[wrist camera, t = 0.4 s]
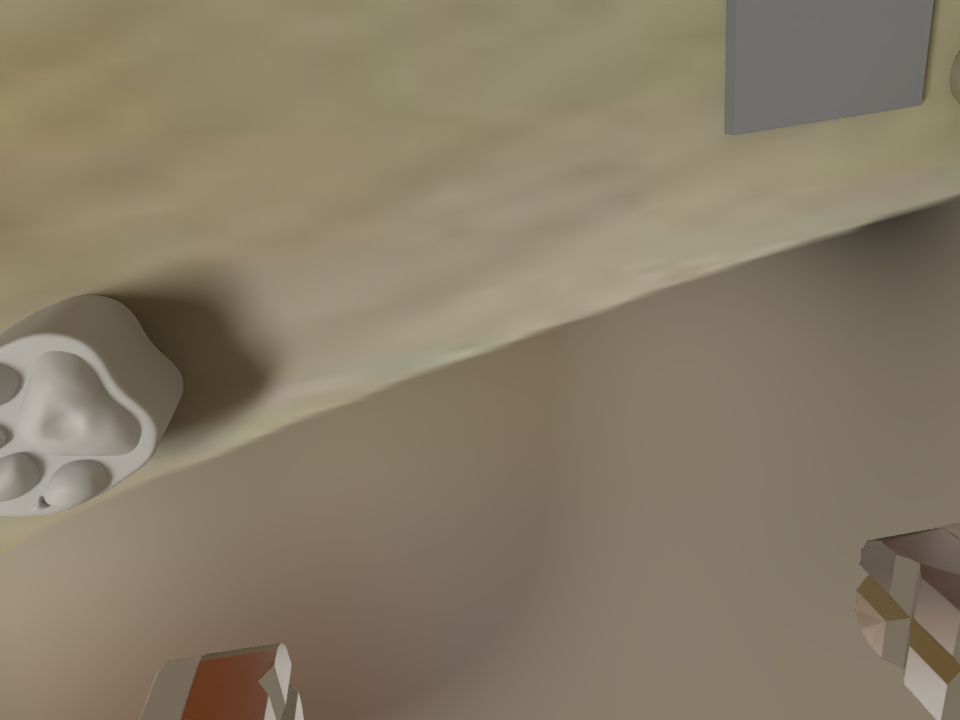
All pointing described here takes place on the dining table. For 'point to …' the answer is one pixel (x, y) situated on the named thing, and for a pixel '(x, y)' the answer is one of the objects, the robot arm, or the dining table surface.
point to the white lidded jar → (955, 78)
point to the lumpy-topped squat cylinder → (78, 404)
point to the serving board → (822, 60)
